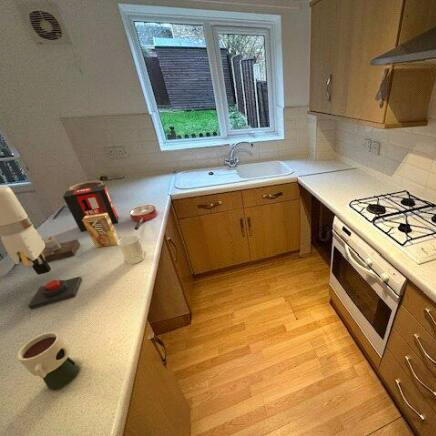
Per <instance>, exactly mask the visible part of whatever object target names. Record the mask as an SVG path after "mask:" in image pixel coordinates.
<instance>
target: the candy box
mask: <svg viewBox="0 0 436 436" xmlns="http://www.w3.org/2000/svg"><path fill="white" fill-rule="evenodd" d="M82 221H83V223H84V225H85V227H86V229H87V231H86V232H87V233H88V235H89V237H90V239H91V241H92V243H93V245H94V247H95V248H96V249H97V248H103V247H108V246H114V245H118V244H117V242H118V240H120V238H119V236H118V234H117V231H116V229H115V227H114V224H113V225H112V222H111V220H110V218H109V215H108V213H103V214H96V215H89V216H85V217H84V218H83V219H82Z"/></svg>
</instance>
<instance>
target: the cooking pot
mask: <svg viewBox="0 0 436 436" xmlns="http://www.w3.org/2000/svg"><path fill="white" fill-rule="evenodd" d="M103 183H104V182H103V181H102V180H90V181H84V182H79V183H76V184H74V185H71V186H69V188H68V191H71V190H77V189H83V188H89V187H95V186H101V185H104V184H103ZM106 189H107V187H106ZM107 192H108V193H109V191H108V189H107Z"/></svg>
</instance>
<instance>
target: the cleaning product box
mask: <svg viewBox="0 0 436 436" xmlns="http://www.w3.org/2000/svg"><path fill="white" fill-rule="evenodd" d="M106 188H107V187H106V185H105V184H103V185H101V186H95V187H89V188H83V189H77V190H66V191H65V192H64V194H63V196H62V198H63V200H64V202H65V204H66V205H67V208H68V210H69V212H70V214H71V215H72V217H73V219H74V221H75V224H76V226H77V228H78V229H79V231H80V233H82V232H83V233H84V232H88V231H87V229H86V227H85V225H84V223H83V221H82V219H83V218H84V217H85V216H89V215H96V214H103V213H108V215H109V218H110V220H111V222H112V225H113V226H114V225H117V224H119V216H118V214H117V211H116V208H115V207H114V204H113V201H112V199H111V196H110V194H109V191H108V189H106ZM107 191H108V192H107Z"/></svg>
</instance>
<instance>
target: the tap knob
mask: <svg viewBox="0 0 436 436" xmlns="http://www.w3.org/2000/svg"><path fill="white" fill-rule="evenodd" d="M43 241H44V243H45V246H46V248H47V249H48V251H49V252H53V251H56V250H59V249H60V248H61V245H60V243H61V242H59V240H58V238H57V236H49V237H46V238H45V239H43Z"/></svg>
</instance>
